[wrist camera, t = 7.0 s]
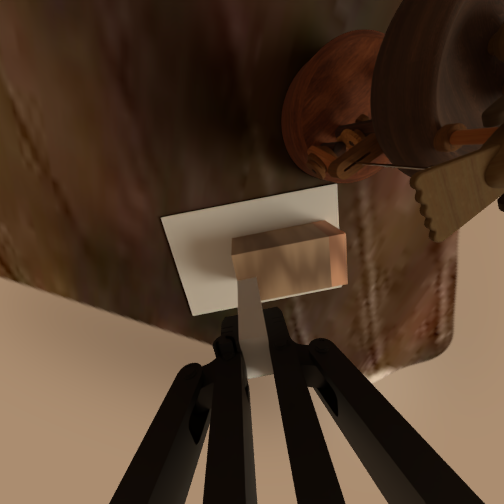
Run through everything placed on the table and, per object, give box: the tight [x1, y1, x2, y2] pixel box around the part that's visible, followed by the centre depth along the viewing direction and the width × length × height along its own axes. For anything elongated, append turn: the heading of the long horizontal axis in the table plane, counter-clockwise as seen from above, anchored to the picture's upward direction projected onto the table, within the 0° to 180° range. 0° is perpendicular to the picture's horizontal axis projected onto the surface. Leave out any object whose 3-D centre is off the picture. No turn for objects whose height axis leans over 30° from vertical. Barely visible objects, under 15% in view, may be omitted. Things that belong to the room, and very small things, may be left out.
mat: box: [161, 183, 342, 316], centre depth 26 cm, size 12×18×1 cm, turn 100°
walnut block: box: [231, 220, 348, 301], centre depth 23 cm, size 5×5×10 cm
